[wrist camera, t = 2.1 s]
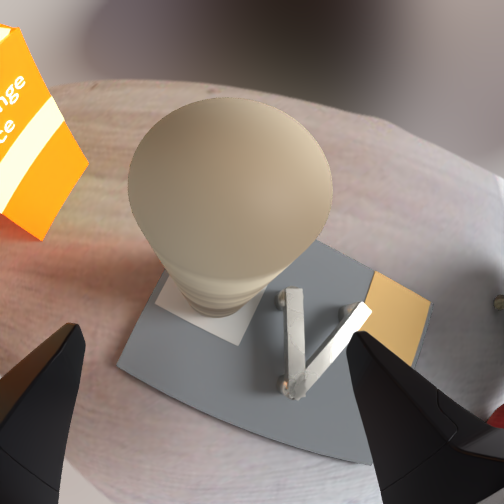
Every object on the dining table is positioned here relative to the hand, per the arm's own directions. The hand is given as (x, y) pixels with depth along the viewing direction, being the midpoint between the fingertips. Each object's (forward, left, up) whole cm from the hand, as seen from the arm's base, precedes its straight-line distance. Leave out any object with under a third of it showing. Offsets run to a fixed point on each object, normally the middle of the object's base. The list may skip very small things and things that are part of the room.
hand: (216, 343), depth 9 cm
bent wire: (+2, -5, -10) cm, 12 cm away
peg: (+3, +1, -10) cm, 11 cm away
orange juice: (+3, +20, -11) cm, 23 cm away
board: (+2, -5, -11) cm, 12 cm away
